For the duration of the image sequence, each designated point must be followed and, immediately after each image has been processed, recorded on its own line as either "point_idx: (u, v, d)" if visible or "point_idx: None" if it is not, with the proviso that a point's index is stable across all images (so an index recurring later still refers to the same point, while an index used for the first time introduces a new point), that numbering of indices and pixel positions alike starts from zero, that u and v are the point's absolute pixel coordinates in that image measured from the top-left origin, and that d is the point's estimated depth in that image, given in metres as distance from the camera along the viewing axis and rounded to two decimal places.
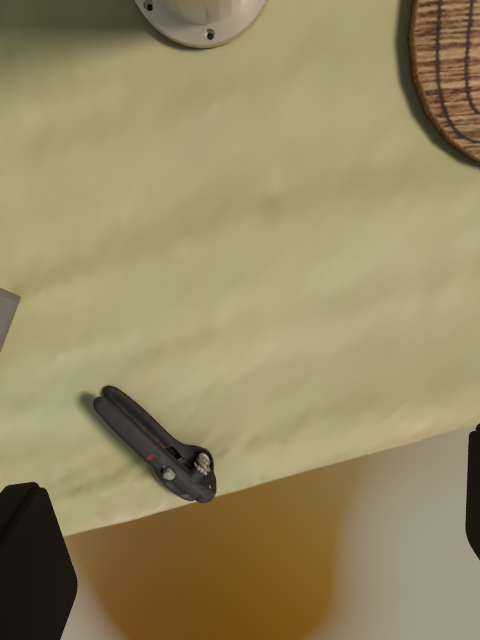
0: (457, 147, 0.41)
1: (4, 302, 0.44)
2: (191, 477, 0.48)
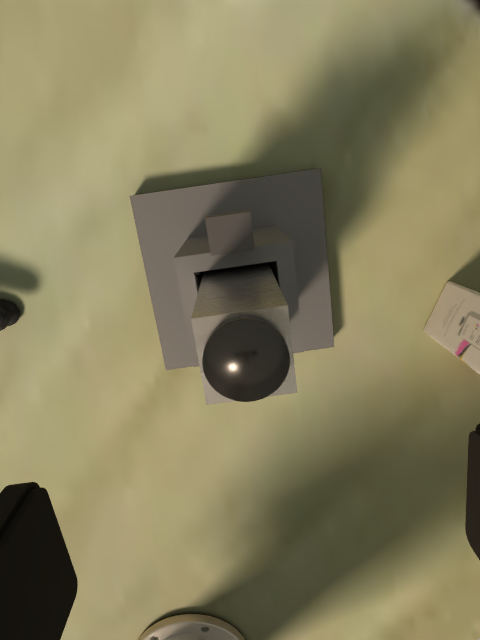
0: None
1: (174, 362, 0.36)
2: None
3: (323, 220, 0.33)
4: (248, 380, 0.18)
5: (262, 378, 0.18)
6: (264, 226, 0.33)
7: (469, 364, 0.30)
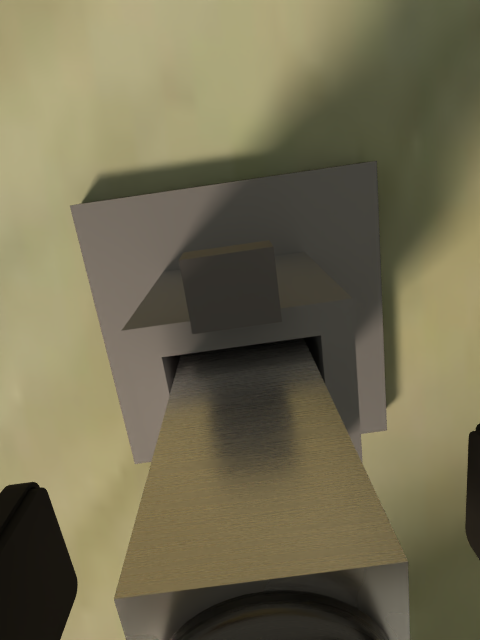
0: None
1: (147, 453, 0.24)
2: None
3: (377, 243, 0.21)
4: None
5: None
6: (284, 253, 0.21)
7: None
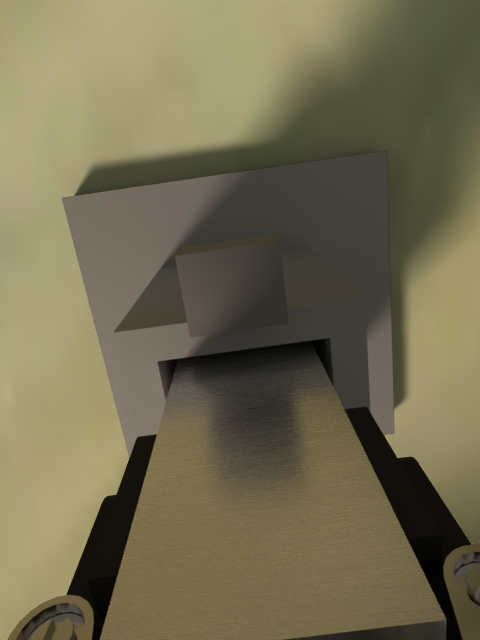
0: None
1: None
2: None
3: (387, 238, 0.20)
4: None
5: None
6: (289, 248, 0.20)
7: None
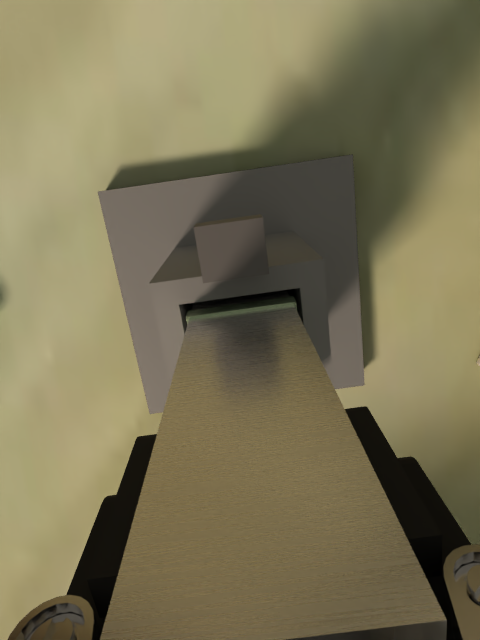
0: None
1: (160, 404, 0.28)
2: None
3: (354, 224, 0.25)
4: None
5: None
6: (276, 232, 0.25)
7: None
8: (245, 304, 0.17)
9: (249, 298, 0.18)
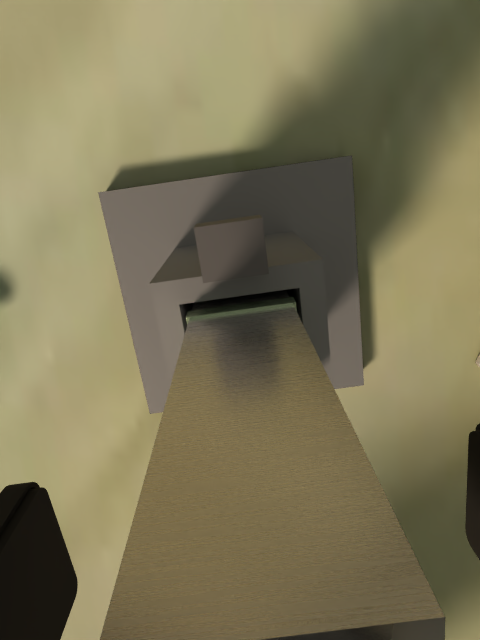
0: None
1: (160, 404, 0.28)
2: None
3: (353, 224, 0.25)
4: None
5: None
6: (276, 232, 0.25)
7: None
8: (245, 304, 0.17)
9: (249, 298, 0.18)
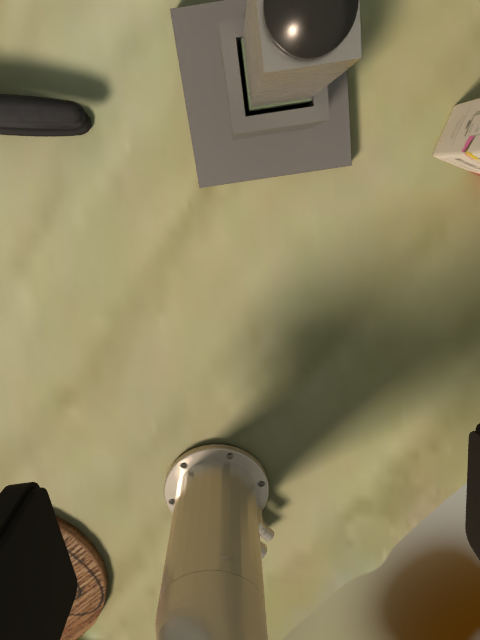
0: None
1: (207, 179, 0.40)
2: None
3: None
4: (312, 27, 0.17)
5: (327, 25, 0.17)
6: None
7: (474, 151, 0.34)
8: None
9: None
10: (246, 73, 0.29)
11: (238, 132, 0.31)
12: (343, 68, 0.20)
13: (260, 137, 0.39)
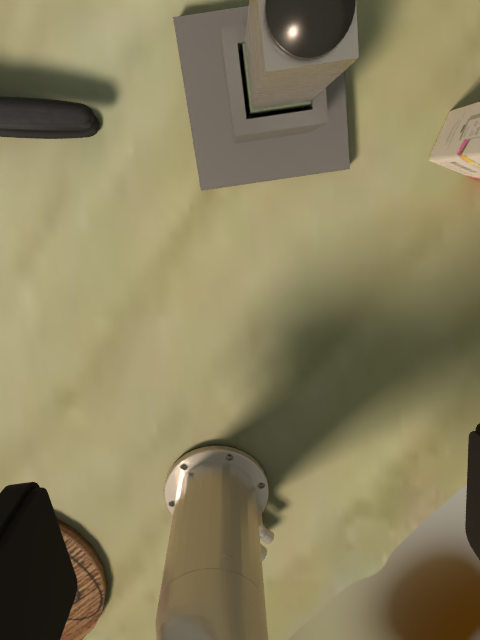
0: None
1: (208, 182, 0.41)
2: None
3: None
4: (311, 28, 0.18)
5: (326, 26, 0.18)
6: None
7: (469, 153, 0.34)
8: None
9: None
10: (247, 77, 0.30)
11: (239, 134, 0.31)
12: (341, 69, 0.20)
13: (260, 141, 0.39)
